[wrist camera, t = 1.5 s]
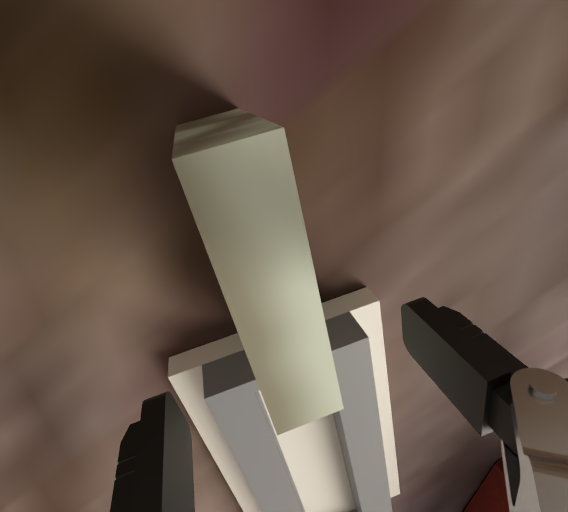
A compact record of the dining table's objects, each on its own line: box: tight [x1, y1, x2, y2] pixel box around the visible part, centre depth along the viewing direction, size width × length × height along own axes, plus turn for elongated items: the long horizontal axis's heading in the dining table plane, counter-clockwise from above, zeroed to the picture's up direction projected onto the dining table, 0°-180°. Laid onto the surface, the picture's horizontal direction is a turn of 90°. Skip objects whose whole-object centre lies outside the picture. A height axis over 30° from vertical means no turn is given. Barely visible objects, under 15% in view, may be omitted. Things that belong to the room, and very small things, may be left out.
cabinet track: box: [168, 287, 400, 512], centre depth 31 cm, size 16×28×5 cm, turn 13°
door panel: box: [172, 108, 344, 435], centre depth 18 cm, size 4×14×10 cm, turn 13°
